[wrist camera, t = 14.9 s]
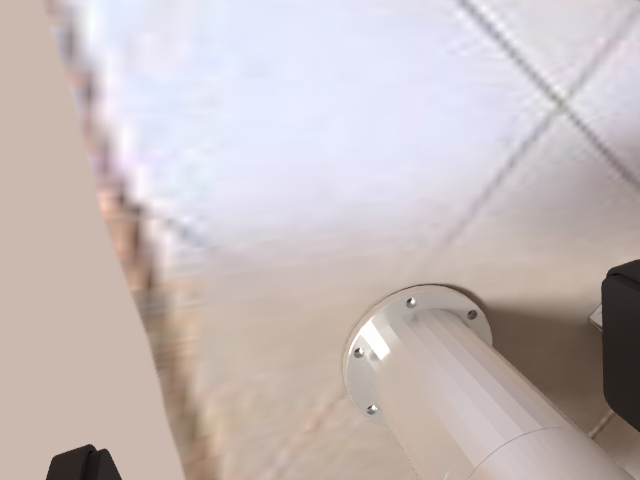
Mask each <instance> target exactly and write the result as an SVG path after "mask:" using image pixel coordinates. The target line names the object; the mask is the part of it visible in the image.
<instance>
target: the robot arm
mask: <svg viewBox="0 0 640 480" xmlns="http://www.w3.org/2000/svg"><path fill="white" fill-rule="evenodd" d="M601 292H602V340H603V388H604V396H605V399H606V401H607V403H608V404H609V406H610V407H611V409H612V410H613V411H615V412H616V413H617V414H618V415H619V416H621V417H622V418H623V419H624V420H625V421H627V422H628V423H629V424H630V425H631V426H633V427H634V428H635V429H636V430H638V431H639V432H640V259H639V260H634V261H631V262H628V263H626V264H623V265H620V266H617V267H614V268H612V269H610V270H609V271H608V273H607V275H606V279H604V280H603V282H602V286H601ZM408 299H409V300H408ZM342 371H343V379H344V384H345V387H346V390H347V392H348V395H349V396H350V398H351V400H352V402H353V404H354V405H355V407H356V408H357V409H358V410H359V411H360V413H361V414H362V415H364V416H365V417H366V418H368V419H369V420H371V421H372V422H374V423H377V424H379V425H381V426H384V427H389V428H390V429H391V431H392V432H393V434H394V436H395V438H396V439H397V441H398V443H399V444H400V446H401V448H402V450H403V451H404V453H405V455H406V457H407V458H408V460H409V462H410V464H411V465H412V467H413V469H414V471H415V472H416V474H417V476H418V477H419V479H420V480H636V479H635V478H634V477H633V476H631V475H630V474H629V473H628V472H627V471H626V470H625V469H624V468H623V467H621V466H620V465H619V464H618V463H617V462H616V461H615V460H614V459H613V458H612V457H611V456H609V455H608V454H607V453H606V452H605V451H604V450H603V449H602V448H601V447H600V446H599V445H598V444H597V443H595V442H594V441H593V440H592V439H591V438H590V437H589V436H588V435H587V434H586V433H585V432H584V431H583V430H582V429H580V428H579V427H578V426H577V425H576V424H575V423H574V422H573V421H572V420H571V419H570V418H569V417H568V416H567V415H565V414H564V413H563V412H562V411H561V410H560V409H559V408H558V407H557V406H556V405H555V404H554V403H553V402H551V401H550V400H549V399H548V398H547V397H546V396H545V395H544V394H543V393H542V392H541V391H540V390H539V389H537V388H536V387H535V386H534V385H533V384H532V383H531V382H530V381H529V380H528V379H527V378H526V377H525V376H523V375H522V374H521V373H520V372H519V371H518V370H517V369H516V368H515V367H514V366H513V365H512V364H510V363H509V362H508V361H507V360H506V359H505V358H504V357H503V356H502V355H501V354H500V353H499V352H498V351H496V350H495V349H494V348H493V342H492V333H491V329H490V325H489V323H488V321H487V318H486V316H485V314H484V313H483V312H482V311H481V309H480V308H479V307H478V306H477V305H476V304H475V303H474V302H473V301H472V300H470V299H469V298H468V297H467V296H465V295H463V294H462V293H460V292H458V291H457V290H454V289H451V288H448V287H444V286H435V285H425V286H415V287H412V288H408V289H404V290H401V291H399V292H397V293H395V294H393V295H391V296H388V297H387V298H385V299H384V300H382V301H381V302H380V303H378V304H377V305H375V306H374V307H373V308H372V309H371V310H370V311H369V312H368V313H367V314H366V315H365V316H364V317H363V318H362V319H361V321H360V322H359V323H358V325H357V326H356V327H355V329H354V330H353V332H352V334H351V336H350V338H349V340H348V342H347V346H346V349H345V353H344V356H343V367H342ZM46 480H122V479H121V477H120V474H119V473H118V470H117V468H116V466H115V464H114V461H113V459H112V457H111V455H110V453H109V451H108V450H107V449H102V450H99V451H97V450H96V448H95V447H94V446H93V445H90V444H88V445H86V446H82V447H80V448H76V449H74V450H71V451H68V452H65V453H62V454H59V455H56V456H55V457H53V459H52V461H51V464H50V467H49V471H48V474H47V478H46Z"/></svg>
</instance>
